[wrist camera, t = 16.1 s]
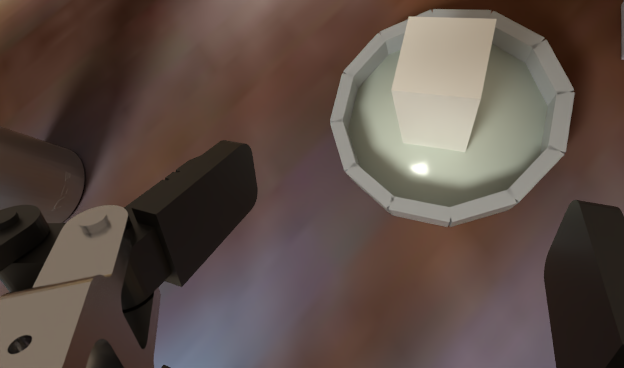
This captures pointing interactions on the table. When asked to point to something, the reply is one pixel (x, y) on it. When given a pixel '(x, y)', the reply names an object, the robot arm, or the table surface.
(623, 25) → the supplement box
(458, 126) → the cream rectangular block
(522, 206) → the table surface
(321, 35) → the table surface
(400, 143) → the round tray
